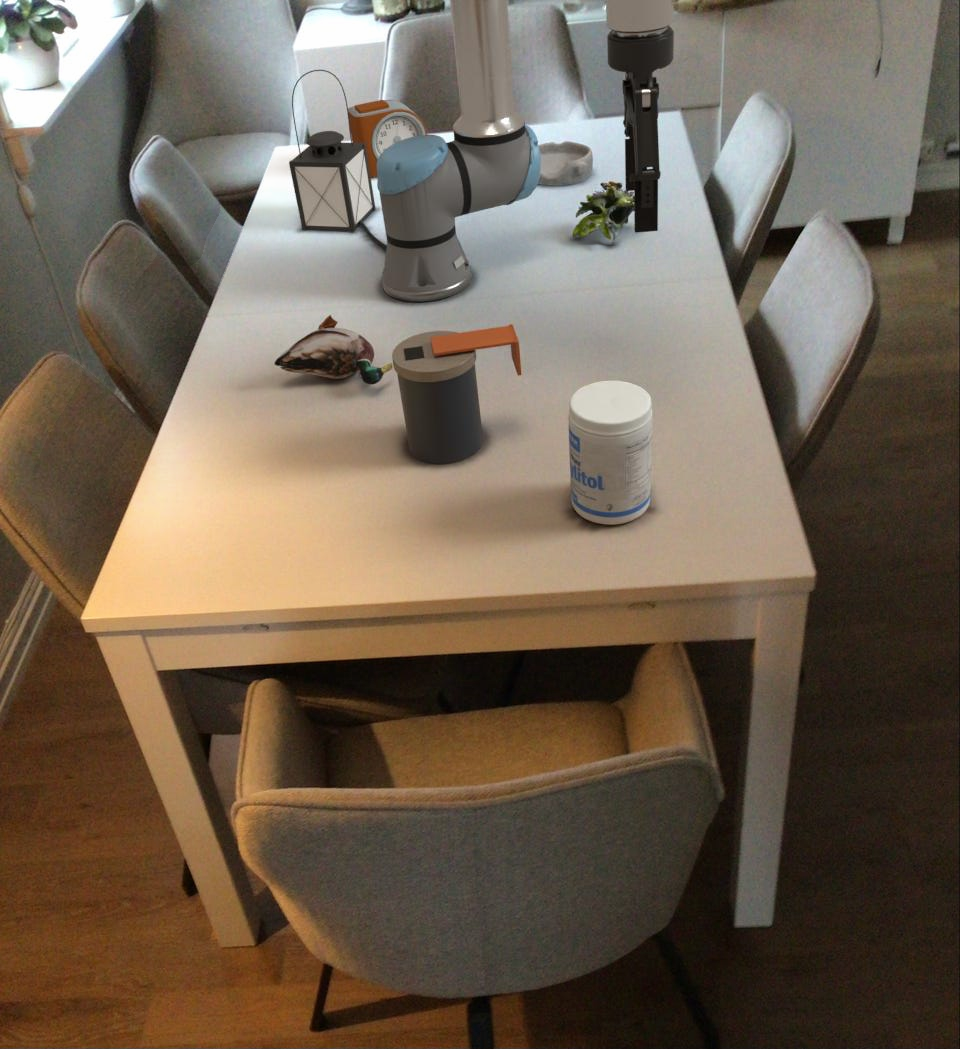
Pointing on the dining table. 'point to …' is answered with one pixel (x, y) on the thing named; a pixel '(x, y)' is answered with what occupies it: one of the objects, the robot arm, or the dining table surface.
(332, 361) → the decorative duck model
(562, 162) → the dish
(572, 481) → the supplement tub
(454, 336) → the lid slider
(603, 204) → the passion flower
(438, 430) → the travel mug
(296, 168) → the lantern
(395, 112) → the alarm clock
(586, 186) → the dining table surface
